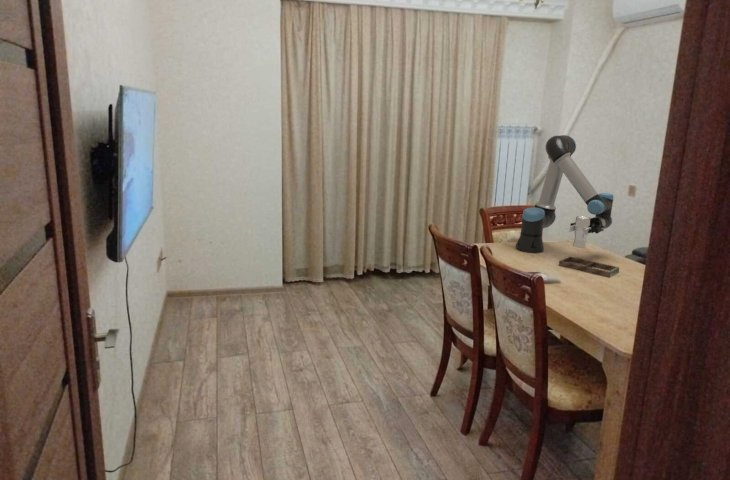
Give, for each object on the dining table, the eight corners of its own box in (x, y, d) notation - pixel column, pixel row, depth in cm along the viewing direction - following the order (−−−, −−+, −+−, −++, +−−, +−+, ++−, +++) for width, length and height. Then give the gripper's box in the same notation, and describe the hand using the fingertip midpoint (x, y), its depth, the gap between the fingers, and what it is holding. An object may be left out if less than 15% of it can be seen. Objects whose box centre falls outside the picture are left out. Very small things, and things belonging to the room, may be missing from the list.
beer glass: (571, 246, 258) (575, 217, 255) (572, 243, 264) (576, 215, 261) (585, 248, 255) (590, 219, 252) (587, 245, 261) (591, 217, 258)
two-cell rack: (558, 265, 262) (559, 260, 262) (569, 261, 271) (569, 256, 271) (609, 277, 245) (609, 272, 245) (618, 272, 254) (619, 267, 254)
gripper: (613, 234, 265) (596, 241, 248) (575, 227, 278) (557, 233, 262) (615, 220, 263) (598, 226, 247) (577, 214, 276) (559, 219, 260)
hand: (577, 230), depth 254 cm, fingers closed on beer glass, 7 cm apart
